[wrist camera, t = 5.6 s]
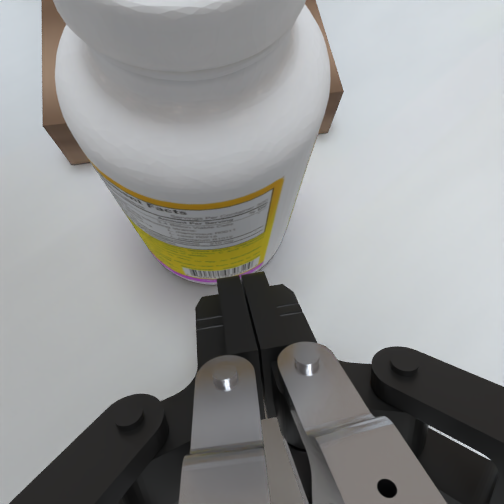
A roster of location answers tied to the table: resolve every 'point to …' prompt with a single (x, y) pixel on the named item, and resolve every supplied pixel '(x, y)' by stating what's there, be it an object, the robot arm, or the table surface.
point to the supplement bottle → (196, 119)
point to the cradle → (51, 107)
